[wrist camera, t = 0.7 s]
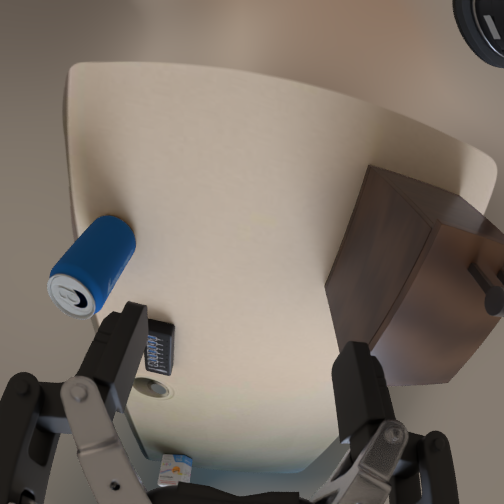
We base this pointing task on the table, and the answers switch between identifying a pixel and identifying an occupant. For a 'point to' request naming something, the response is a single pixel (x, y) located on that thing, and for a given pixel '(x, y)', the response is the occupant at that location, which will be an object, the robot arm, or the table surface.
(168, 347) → the multiport hub
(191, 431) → the table surface
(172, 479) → the white cardboard box
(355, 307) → the bin
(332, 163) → the table surface
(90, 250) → the beverage can
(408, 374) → the lid
